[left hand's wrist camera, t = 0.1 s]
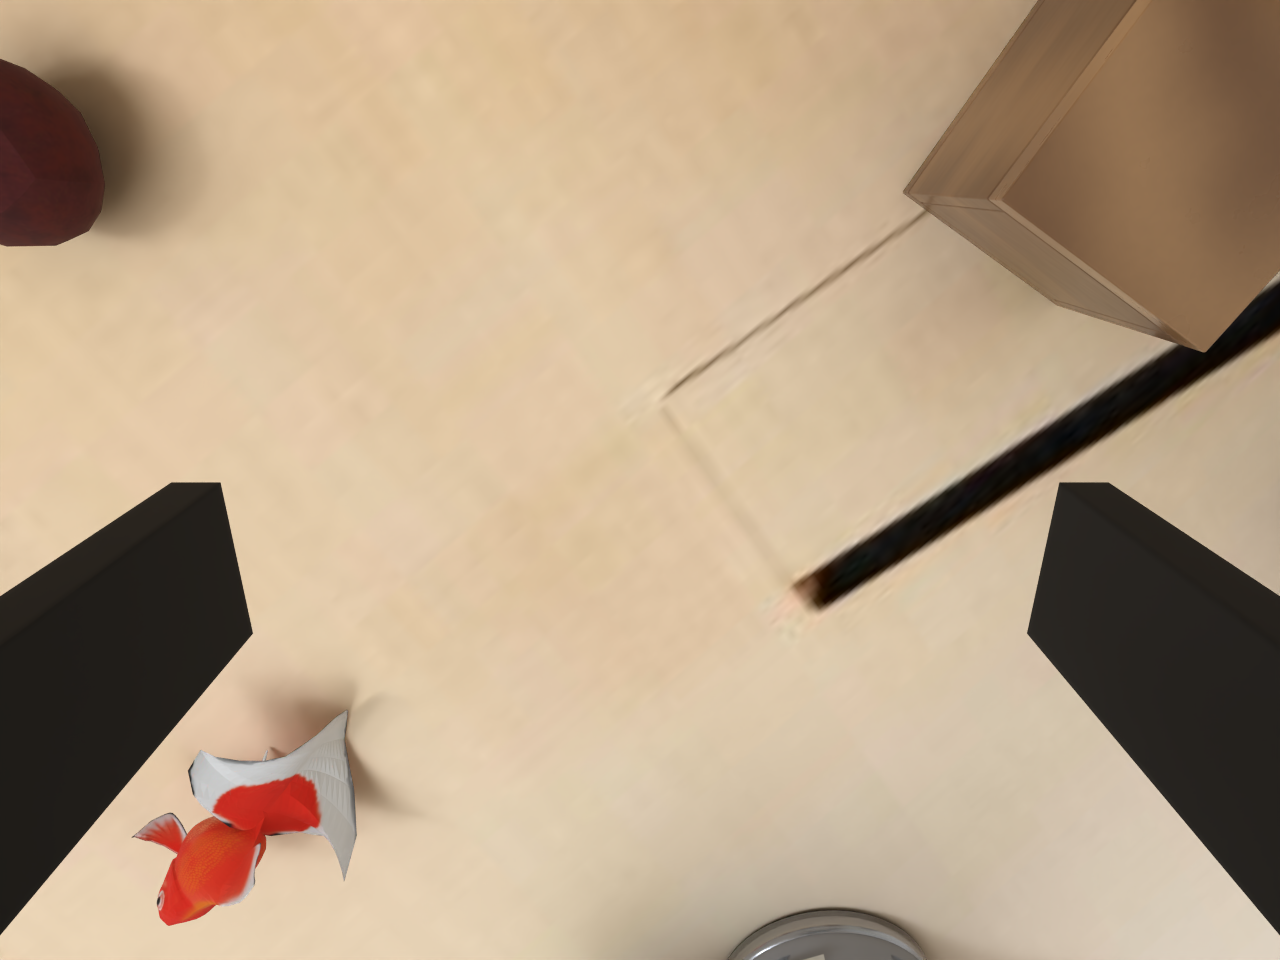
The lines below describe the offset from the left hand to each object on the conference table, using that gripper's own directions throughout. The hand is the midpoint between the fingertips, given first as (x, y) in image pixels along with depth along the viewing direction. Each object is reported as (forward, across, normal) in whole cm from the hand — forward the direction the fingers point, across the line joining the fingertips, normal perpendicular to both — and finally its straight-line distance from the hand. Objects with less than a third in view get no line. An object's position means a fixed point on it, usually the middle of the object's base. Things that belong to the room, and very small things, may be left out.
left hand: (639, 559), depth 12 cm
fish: (+28, +23, +29) cm, 46 cm away
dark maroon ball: (+28, +27, -6) cm, 39 cm away
